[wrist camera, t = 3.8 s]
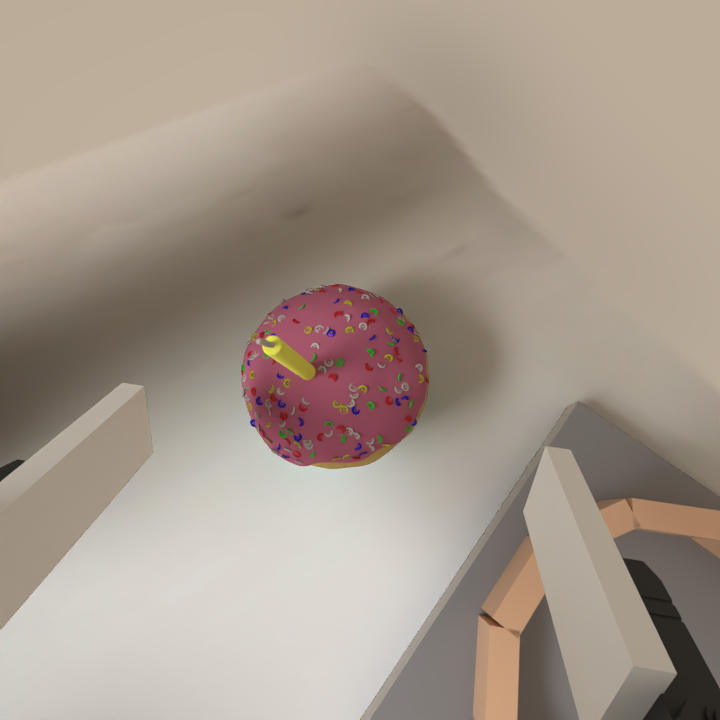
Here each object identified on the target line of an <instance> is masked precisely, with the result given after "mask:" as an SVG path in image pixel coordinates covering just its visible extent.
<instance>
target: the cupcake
mask: <svg viewBox="0 0 720 720" xmlns="http://www.w3.org/2000/svg"><path fill="white" fill-rule="evenodd" d="M320 287H322V288H318V289H312V288H308V289H306V290H305V292H304V293H301V294H299V295H297V296H295V297H292V298H290V299H289V300H287V301H285V299H282V300H281V303H280V305H279V306H278V307H277V308H275V309H274V310H273V311H272V312H271V313H269V314H268V316H267V317H266V319H265V320H264V321H263V322H262V324H261V325H260V326H259V328H258V329H257V331H256V332H255V333H254V334H253V335H252V339H251V340H250V341H249V342H248V343H247V344H246V345H248V347H247V349H246V352H245V355H244V360H243V365H242V370H241V372H242V387H243V393H242V396H243V397H244V400H245V402H246V406H247V409H248V411H249V414H250V417H251V419H252V420H251V421H250V423H251V425H252V426H253V427H255V428H256V430H257V431H258V433H259V434H260V435H261V437H262V438H263V440H264V441H265V443H266V444H267V445H268V447H269V448H270V449H271V451H272V452H273V453H274V454H277V455H278V456H280V457H282V458H283V459H285V460H287V461H289V462H291V463H293V464H296V465H299V466H309V465H313V466H317V467H322V468H327V469H338V468H347V467H358V466H364V465H367V464H370V463H372V462H374V461H376V460H378V459H379V458H381V457H382V456H384V455H385V454H386V453H388V452H389V451H390V450H391V449H392V448H394V447H395V446H396V445H397V444H398V443H399V442H400V441H401V440H402V439H403V438H405V437H406V436H407V435H409V434H410V433H411V432H412V430H413V429H414V427H415V425H416V423H417V420H418V418H419V416H420V414H421V412H422V410H423V407H424V404H425V401H426V398H427V393H428V387H429V379H428V365H427V356H426V352H427V351H426V350H425V349H424V346H423V344H422V341H421V339H420V337H419V333H417V331H416V329H415V327H414V325H413V324H412V323H411V322H410V321H409V320H408V319H407V318H406V317H405V316H404V315H403V311H402V309H400V308H398V309H396V308H395V307H394V306H393V305H392V304H390V303H389V302H388V301H386V300H385V299H383V298H382V297H380V296H378V295H376V294H373V293H371V292H368V291H365V290H362V289H358V288H354V287H351V286H347V285H342V284H335V285H330V286H322V285H320ZM307 290H309V291H307ZM282 301H283V302H282ZM399 310H400V311H399ZM252 422H253V424H252Z"/></svg>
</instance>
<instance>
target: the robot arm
mask: <svg viewBox="0 0 720 720" xmlns="http://www.w3.org/2000/svg"><path fill="white" fill-rule="evenodd" d="M152 453H153V447H152V440H151V433H150V425H149V418H148V411H147V403H146V396H145V388H144V386H141V385H134V384H128V383H121V384H120V385H119V386H118V387H116V388H115V389H114V390H113V391H111V392H110V393H109V394H108V395H106V396H105V397H104V398H103V399H102V400H100V401H99V402H98V403H97V404H95V405H94V406H93V407H92V408H90V409H89V410H88V411H87V412H86V413H84V414H83V415H82V416H81V417H79V418H78V419H77V420H76V421H74V422H73V423H72V424H71V425H70V426H68V427H67V428H66V429H65V430H63V431H62V432H61V433H60V434H58V435H57V436H56V437H55V438H54V439H52V440H51V441H50V442H49V443H47V444H46V445H45V446H44V447H42V448H41V449H40V450H39V451H38V452H36V453H35V454H34V455H33V456H31V457H30V458H29V459H28V460H26V461H23V460H16V461H14V462H11V463H9V464H7V465H5V466H3V467H1V468H0V630H1V629H2V628H3V627H4V625H5V624H6V623H7V622H8V621H9V620H10V618H11V617H12V616H13V615H14V614H15V613H16V611H17V610H18V609H19V608H20V607H21V606H22V605H23V603H24V602H25V601H26V600H27V599H28V598H29V596H30V595H31V594H32V593H33V592H34V591H35V589H36V588H37V587H38V586H39V585H40V584H41V582H42V581H43V580H44V579H45V578H46V577H47V575H48V574H49V573H50V572H51V571H52V570H53V568H54V567H55V566H56V565H57V564H58V563H59V561H60V560H61V559H62V558H63V557H64V556H65V554H66V553H67V552H68V551H69V550H70V549H71V547H72V546H73V545H74V544H75V543H76V542H77V540H78V539H79V538H80V537H81V536H82V535H83V533H84V532H85V531H86V530H87V529H88V528H89V526H90V525H91V524H92V523H93V522H94V521H95V519H96V518H97V517H98V516H99V515H100V514H101V513H102V511H103V510H104V509H105V508H106V507H107V506H108V504H109V503H110V502H111V501H112V500H113V499H114V497H115V496H116V495H117V494H118V493H119V492H120V490H121V489H122V488H123V487H124V486H125V485H126V483H127V482H128V481H129V480H130V479H131V478H132V476H133V475H134V474H135V473H136V472H137V471H138V469H139V468H140V467H141V466H142V465H143V464H144V462H145V461H146V460H147V459H148V458H149V457H150V455H151V454H152ZM523 513H524V517H525V520H526V524H527V528H528V531H529V535H530V539H531V543H532V546H533V550H534V554H535V557H536V561H537V565H538V568H539V572H540V576H541V580H542V583H543V587H544V591H545V594H546V598H547V602H548V605H549V609H550V613H551V617H552V620H553V624H554V628H555V631H556V635H557V639H558V642H559V646H560V650H561V654H562V657H563V661H564V665H565V668H566V672H567V676H568V680H569V683H570V687H571V691H572V694H573V698H574V702H575V705H576V709H577V713H578V717H579V720H720V688H719V686H718V684H717V682H716V681H715V679H714V677H713V675H712V673H711V671H710V670H709V668H708V666H707V664H706V662H705V660H704V658H703V657H702V655H701V653H700V651H699V649H698V647H697V645H696V644H695V642H694V640H693V638H692V636H691V634H690V633H689V631H688V629H687V627H686V625H685V623H683V622H682V620H681V619H682V618H681V616H680V614H679V612H678V610H677V608H676V607H675V605H673V604H672V599H671V597H670V596H669V594H668V592H667V590H666V588H665V586H664V584H663V583H662V581H661V580H660V578H659V577H658V576H657V575H656V574H655V573H654V572H653V571H652V570H651V569H650V568H649V567H648V566H647V565H646V564H645V563H644V561H639V560H633V559H627V558H622V557H621V555H620V553H619V550H618V548H617V546H616V544H615V542H614V540H613V538H612V536H611V534H610V532H609V529H608V527H607V525H606V523H605V521H604V519H603V517H602V515H601V513H600V511H599V508H598V506H597V504H596V502H595V500H594V498H593V496H592V494H591V492H590V490H589V487H588V485H587V483H586V481H585V479H584V477H583V475H582V473H581V471H580V469H579V466H578V464H577V462H576V460H575V458H574V456H573V454H572V452H571V450H569V449H562V448H556V447H549V446H545V449H544V452H543V455H542V458H541V461H540V464H539V466H538V469H537V472H536V475H535V478H534V481H533V484H532V487H531V490H530V493H529V496H528V499H527V501H526V504H525V507H524V510H523Z"/></svg>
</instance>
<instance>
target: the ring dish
mask: <svg viewBox="0 0 720 720" xmlns="http://www.w3.org/2000/svg"><path fill="white" fill-rule="evenodd" d="M545 446H549V447H556V448H562V449H569V450H571V452H572V454H573V456H574V458H575V460H576V462H577V464H578V466H579V469H580V471H581V473H582V475H583V477H584V479H585V481H586V483H587V485H588V487H589V490H590V492H591V494H592V496H593V498H594V500H595V502H596V504H597V506H598V508H599V511H600V513H601V515H602V517H603V519H604V521H605V523H606V525H607V527H608V529H609V532H610V534H611V536H612V538H613V540H614V542H615V544H616V546H617V548H618V550H619V553H620V555H621V557H622V558H627V559H633V560H639V561H644V563H645V564H646V565H647V566H648V567H649V568H650V569H651V570H652V571H653V572H654V573H655V574H656V575H657V576H658V577H659V578H660V580H661V581H662V583H663V584H664V586H665V588H666V590H667V592H668V594H669V596H670V597H671V599H672V604H673V605H675V607H676V608H677V610H678V612H679V614H680V616H681V618H682V619H681V620H682V622H683V623H685V625H686V627H687V629H688V631H689V633H690V634H691V636H692V638H693V640H694V642H695V644H696V645H697V647H698V649H699V651H700V653H701V655H702V657H703V658H704V660H705V662H706V664H707V666H708V668H709V670H710V671H711V673H712V675H713V677H714V679H715V681H716V682H717V684H718V686H719V688H720V497H719V496H717V495H716V494H714V493H713V492H711V491H710V490H708V489H707V488H706V487H704V486H703V485H701V484H700V483H698V482H697V481H695V480H694V479H692V478H691V477H689V476H688V475H686V474H685V473H683V472H682V471H681V470H679V469H678V468H676V467H675V466H673V465H672V464H670V463H669V462H667V461H666V460H664V459H663V458H661V457H660V456H658V455H657V454H655V453H654V452H653V451H651V450H650V449H648V448H647V447H645V446H644V445H642V444H641V443H639V442H638V441H636V440H635V439H633V438H632V437H630V436H629V435H628V434H626V433H625V432H623V431H622V430H620V429H619V428H617V427H616V426H614V425H613V424H611V423H610V422H608V421H607V420H605V419H604V418H602V417H601V416H600V415H598V414H597V413H595V412H594V411H592V410H591V409H589V408H588V407H586V406H585V405H583V404H582V403H580V402H577V403H575V404H573V405H571V406H569V407H567V408H566V409H565V411H564V412H563V414H562V415H561V417H560V419H559V420H558V422H557V423H556V425H555V426H554V428H553V429H552V431H551V432H550V434H549V435H548V437H547V438H546V440H545V441H544V443H543V444H542V446H541V447H540V449H539V450H538V452H537V453H536V455H535V456H534V458H533V459H532V461H531V462H530V464H529V465H528V467H527V468H526V470H525V471H524V473H523V474H522V476H521V477H520V479H519V480H518V482H517V483H516V485H515V486H514V488H513V489H512V491H511V493H510V494H509V496H508V497H507V499H506V500H505V502H504V503H503V505H502V506H501V508H500V509H499V511H498V512H497V514H496V515H495V517H494V518H493V520H492V521H491V523H490V524H489V526H488V527H487V529H486V530H485V532H484V533H483V535H482V536H481V538H480V539H479V541H478V542H477V544H476V545H475V547H474V548H473V550H472V551H471V553H470V554H469V556H468V557H467V559H466V560H465V562H464V564H463V565H462V567H461V568H460V570H459V571H458V573H457V574H456V576H455V577H454V579H453V580H452V582H451V583H450V585H449V586H448V588H447V589H446V591H445V592H444V594H443V595H442V597H441V598H440V600H439V601H438V603H437V604H436V606H435V607H434V609H433V610H432V612H431V613H430V615H429V616H428V618H427V619H426V621H425V622H424V624H423V625H422V627H421V628H420V630H419V631H418V633H417V635H416V636H415V638H414V639H413V641H412V642H411V644H410V645H409V647H408V648H407V650H406V651H405V653H404V654H403V656H402V657H401V659H400V660H399V662H398V663H397V665H396V666H395V668H394V669H393V671H392V672H391V674H390V675H389V677H388V678H387V680H386V681H385V683H384V684H383V686H382V687H381V689H380V690H379V692H378V693H377V695H376V696H375V698H374V699H373V701H372V702H371V704H370V706H369V707H368V709H367V710H366V712H365V713H364V715H363V716H362V718H361V719H360V720H579V717H578V713H577V709H576V705H575V702H574V698H573V694H572V691H571V687H570V683H569V680H568V676H567V672H566V668H565V665H564V661H563V657H562V654H561V650H560V646H559V642H558V639H557V635H556V631H555V628H554V624H553V620H552V617H551V613H550V609H549V605H548V602H547V598H546V594H545V591H544V587H543V583H542V580H541V576H540V572H539V568H538V565H537V561H536V557H535V554H534V550H533V546H532V543H531V539H530V535H529V531H528V528H527V524H526V520H525V517H524V513H523V510H524V507H525V504H526V501H527V499H528V496H529V493H530V490H531V487H532V484H533V481H534V478H535V475H536V472H537V469H538V466H539V464H540V461H541V458H542V455H543V452H544V449H545Z"/></svg>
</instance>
